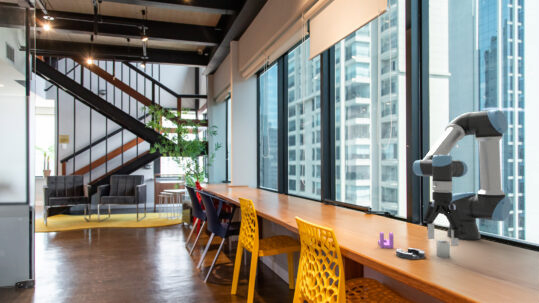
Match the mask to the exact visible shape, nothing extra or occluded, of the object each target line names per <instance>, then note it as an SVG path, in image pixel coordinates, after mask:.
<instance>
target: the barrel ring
mask: <svg viewBox="0 0 539 303" xmlns="http://www.w3.org/2000/svg"><path fill="white" fill-rule="evenodd" d="M395 255H396V256H397V257H398V258H402V259H406V260H422V259H425V256H426V251H424V250H422V249H419V248H415V247H414V248H413V247H408V248H407V251H406V250H404V251H403V249H402V248H396V249H395Z"/></svg>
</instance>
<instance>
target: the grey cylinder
mask: <svg viewBox="0 0 539 303" xmlns="http://www.w3.org/2000/svg"><path fill="white" fill-rule="evenodd" d="M450 248H451V242H450V241H447V240H443V239H442V240H441V239H440V240H436V256H437V257H438V258H442V259H445V258H446V259H448V258H450V256H451V249H450Z"/></svg>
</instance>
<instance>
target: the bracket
mask: <svg viewBox="0 0 539 303" xmlns="http://www.w3.org/2000/svg"><path fill="white" fill-rule="evenodd" d="M377 243H378V245H379V248H380V249H394V233H393V232H389V233H388V239H385V234H384V231H380V232H379V239H378V241H377Z"/></svg>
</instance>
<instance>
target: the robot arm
mask: <svg viewBox="0 0 539 303" xmlns="http://www.w3.org/2000/svg"><path fill="white" fill-rule="evenodd" d="M508 128H509V124H508V120H507V117H506V115H505V113H504V112H503V111H502V110H500V109H487V110H480V111H479V110H478V111H471V112H470V111H469V112H465V113H463V114H460V115H458V116H456V117H455V118H454V119H452V120H451V121H450V122H449V124H447V126H445V129H444V133H443V134H442V135H441V136H440V138H438V140H437V141H436V142H435V143H434V145H433V146H432V147H431V149H430V150H429V151H428V153H426V155H425V157H423V159H419V160H418V159H417V160H415V161H414V162H413V165H412V171H413V173H414V174H415V175H416V176H418V177H420V176H421V177H431V179H432V181H431V182H432V186H431V187H432V196H431V197H432V201H429V200H428V205H427V209H426V212H425V214H424V217H423V221H424V222H426V227H427V239H428V240H435V220H436V219H437V218H438V216H439V214H441V215H444V216H445V217H446V220H447V221H448V223H449V226H448V229H447V232H446V234H447V237H450V239H451V240H450V241H451V242H450V247H451V246H452V247H459V240H467V241H475V240H480V239H481V233H480V232H479V227H478V225H477V220H486V221H487V220H488V221H491V222H492V221H493V222H503V221H506V220H507V218H508V217H509V216H510V213H511V208H512V202H511V199H510V198H509V197H507V196H506V193H505V192H504V191H503V190H502V176H501V156H500V155H501V154H500V153H501V152H500V151H501V150H500V140H502V139H503V138H504V134H506V132H508ZM467 136H474V138H475V140H476V141H477V142H478V154H479V156H478V157H479V159H478V160H479V176H480V179H479V181H480V183H479V184H480V189H479V190H478V192H477V194H476V192H475V191H473V192H456V193H452V191H453V178H462V177H464V176H465V175H466V174H467V173H468V170H469V169H468V164H467V163H466V162H465V161H463V160H460V159H453V157H452V156H451V155H450V153H451V151H452V150H453V149H454V147H455V146H456V144H457V143H458V142H459V141H461V140H462V139H464V138H465V137H467Z"/></svg>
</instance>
